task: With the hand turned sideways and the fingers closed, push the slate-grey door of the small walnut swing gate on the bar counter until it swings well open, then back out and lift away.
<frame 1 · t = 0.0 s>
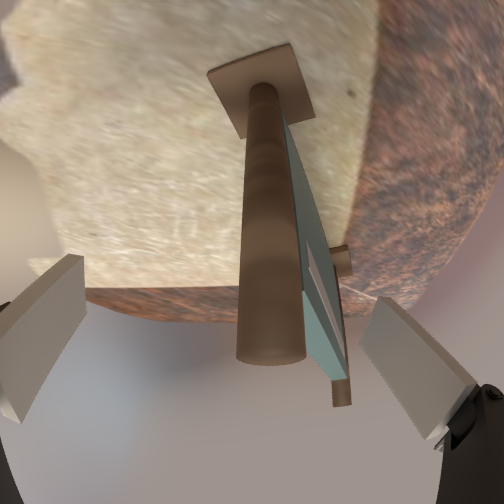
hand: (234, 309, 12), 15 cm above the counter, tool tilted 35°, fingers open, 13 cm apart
gate frame: (263, 91, 18), on the counter
gate door: (316, 272, 23), point 8 cm above the counter, hinge at 0.0°
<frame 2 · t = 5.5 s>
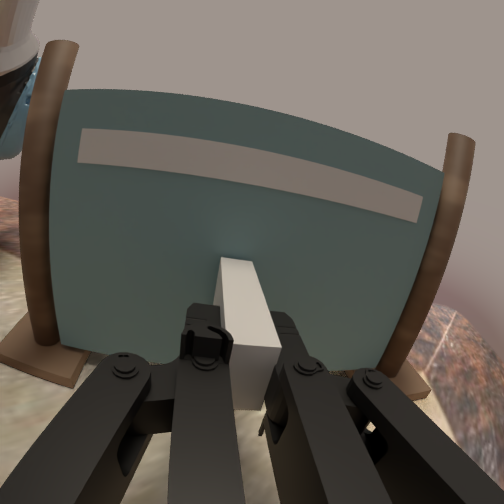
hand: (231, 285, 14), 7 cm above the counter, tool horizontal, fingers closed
gate frame: (49, 346, 14), on the counter
gate door: (251, 254, 14), point 8 cm above the counter, hinge at 1.8°, touching gripper
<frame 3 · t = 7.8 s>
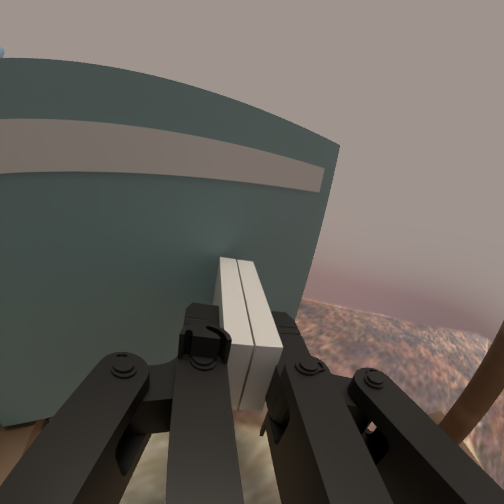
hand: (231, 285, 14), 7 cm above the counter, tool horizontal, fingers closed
gate door: (182, 252, 13), point 8 cm above the counter, hinge at 38.7°, touching gripper
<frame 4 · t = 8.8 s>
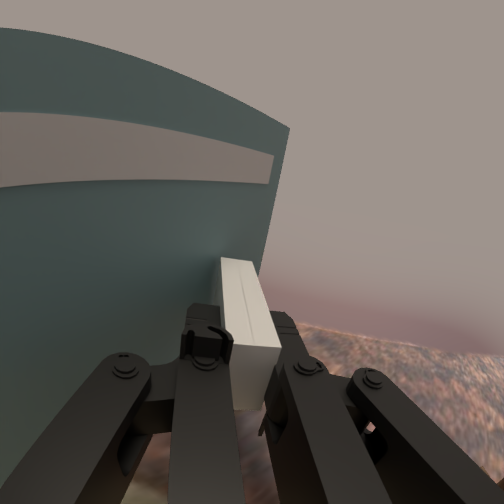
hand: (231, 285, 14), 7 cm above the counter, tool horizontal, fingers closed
gate door: (113, 279, 9), point 8 cm above the counter, hinge at 54.0°
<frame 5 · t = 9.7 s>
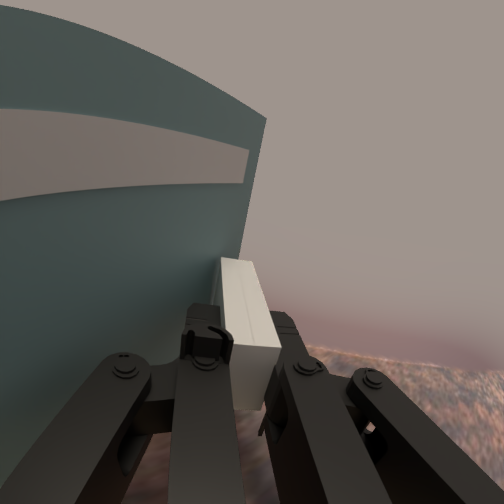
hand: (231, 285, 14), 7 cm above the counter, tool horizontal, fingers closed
gate door: (62, 316, 6), point 8 cm above the counter, hinge at 61.1°, touching gripper
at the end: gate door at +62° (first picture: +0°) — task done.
